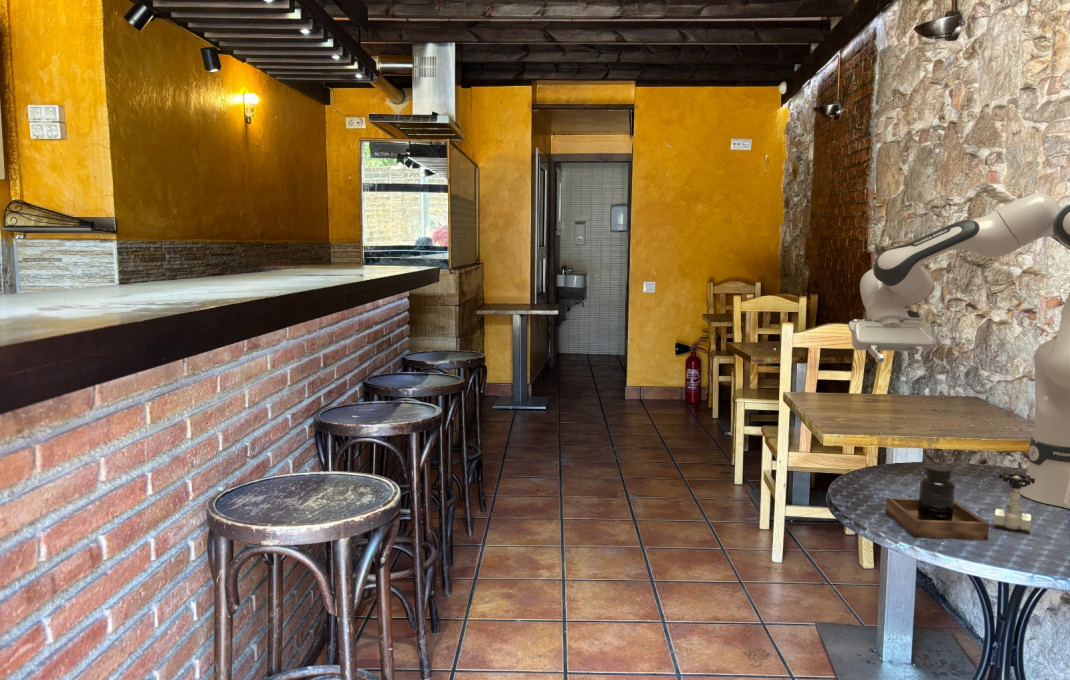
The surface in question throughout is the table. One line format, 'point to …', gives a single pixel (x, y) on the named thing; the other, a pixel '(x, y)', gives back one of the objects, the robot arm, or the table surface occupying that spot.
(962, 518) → the walnut tray
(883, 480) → the table surface
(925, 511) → the supplement bottle
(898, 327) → the robot arm
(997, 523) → the valve
